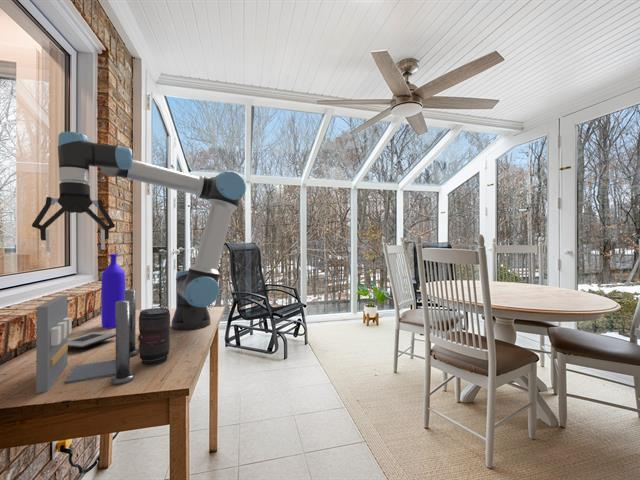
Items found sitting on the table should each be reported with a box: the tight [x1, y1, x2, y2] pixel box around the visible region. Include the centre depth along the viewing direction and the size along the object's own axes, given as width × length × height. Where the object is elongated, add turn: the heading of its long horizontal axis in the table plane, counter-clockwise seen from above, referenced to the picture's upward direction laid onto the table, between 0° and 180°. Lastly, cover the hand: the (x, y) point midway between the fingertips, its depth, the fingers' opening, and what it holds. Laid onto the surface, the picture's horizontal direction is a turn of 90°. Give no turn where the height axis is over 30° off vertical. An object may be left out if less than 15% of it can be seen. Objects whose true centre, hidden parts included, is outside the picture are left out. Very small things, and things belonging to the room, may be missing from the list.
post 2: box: [124, 289, 140, 358], centre depth 94 cm, size 5×5×20 cm
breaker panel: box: [35, 294, 73, 394], centre depth 78 cm, size 3×17×20 cm, turn 28°
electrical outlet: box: [67, 331, 116, 350], centre depth 103 cm, size 13×10×2 cm
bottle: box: [100, 253, 126, 329], centre depth 127 cm, size 8×8×30 cm
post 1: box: [110, 300, 135, 386], centre depth 77 cm, size 5×5×20 cm
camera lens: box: [137, 307, 171, 367], centre depth 89 cm, size 8×8×15 cm
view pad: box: [64, 359, 116, 385], centre depth 82 cm, size 11×11×1 cm
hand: (76, 250), depth 96 cm, fingers open, 13 cm apart
